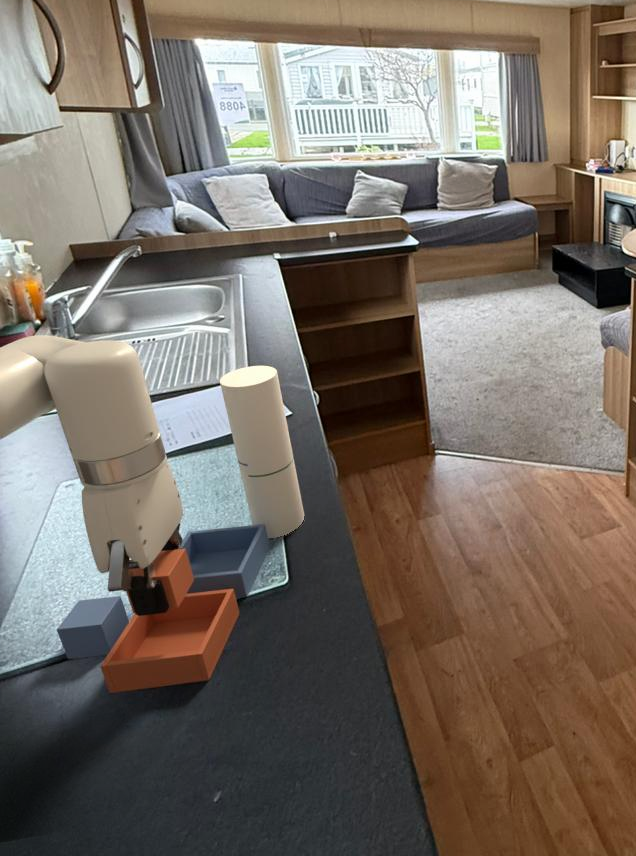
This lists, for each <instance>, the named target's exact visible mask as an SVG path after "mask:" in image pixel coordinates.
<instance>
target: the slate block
mask: <svg viewBox="0 0 636 856" xmlns="http://www.w3.org/2000/svg"><path fill="white" fill-rule="evenodd" d="M129 622H130V620H129V617H128V614H127V612H126V608H125V605H124V602H123V599H122V596H121V595H118V596H110V597H99V598H90V599H81V600H78V601H77V602H76V604H75V605H74V606H73V608H72V609H71V610H70V611H69V613H68V614H67V615H66V617H65V618H64V619H63V620H62V622H61V623H60V625H59V626H58V627H57V628H56V632H57V634H58V637H59V639H60V642H61V645H62V647H63V650H64V653H65V655H66V658H67V660H77V659H82V658H83V659H84V658H92V657H100V656H107V655H108V654H109V652H110V651H111V649H112V648H113V646H114V645H115V643H116V642H117V640H118V639H119V637H120V636H121V634H122V632H123V631H124V629H125V628H126V626H127V625H128V623H129Z"/></svg>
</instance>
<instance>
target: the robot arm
mask: <svg viewBox="0 0 636 856" xmlns="http://www.w3.org/2000/svg"><path fill="white" fill-rule="evenodd" d="M52 411H56V413H57V414H56V415H57V417H58V420H59V422H60V426H61V428H62V431H63V434H64V437H65V440H66V443H67V447H68V448H69V452H70V454H71V457H72V461H73V463H74V466H75V469H76V472H77V475H78V478H79V481H80V483H81V484H80V485H82V486H83V488H82V490H81V506H82V515H83V520H84V525H85V530H86V534H87V538H88V543H89V547H90V551H91V554H92V557H93V560H94V565H95V567H96V569H97V571H98V572H99V573H100V574H106V573H108V578H107V579H108V580H107V591H108V592H119V591H123V592H126V591H128V593H129V596H130V599H131V602H132V605H133V608H134V611H135V613H134V614H136V615H138V616H143V615H152V614H160V613H166V612H167V610H168V609H169V604H168V601H167V598H166V595H165V591H164V588H163V585H162V582H161V581H156V573H155V566H154V559H155V558H156V557H157V555H158V554H159V553H160V551H167V550H176V549H178V547H181V546H182V540H183V537H182V535H181V534H180V526H181V521H182V519H183V516H184V510H183V503H182V498H181V496H180V491H179V489H178V485H177V483H176V480H175V477H174V474H173V471H172V469H171V467H170V464H169V462H168V457H167V452H166V449H165V446H164V442H163V439H162V435H161V432H160V428H159V424H158V420H157V417H156V414H155V413H156V412H155V410H154V406H153V402H152V398H151V395H150V392H149V388H148V385H147V381H146V378H145V373H144V371H143V367H142V363H141V360H140V357H139V355H138V352H137V350H136V349H135V348H134V347H133V346H132V345H130V343H127V342H125V341H121V340H113V339H104V340H95V341H94V340H93V341H80V340H75V339H72V338H71V339H70V338H65V337H61V336H56V335H49V334H36V335H30V336H25V337H22V338H19V339H17V340H14V341H12V342H10V343H7V344H5V345H3V346H0V441H1V440H2V439H4V438H6V437H7V436H10V435H11V434H13V433H15V432H16V431H18V430H20V429H22V428H23V427H26V425H28V424H30V423H31V422H33V421H34V420H36V419H38V418H40V417H42V416H44V415H45V414H48V413H50V412H52ZM179 549H182V548H179ZM136 568H141V569H143V571H144V576H133V571H132V569H136Z"/></svg>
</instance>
